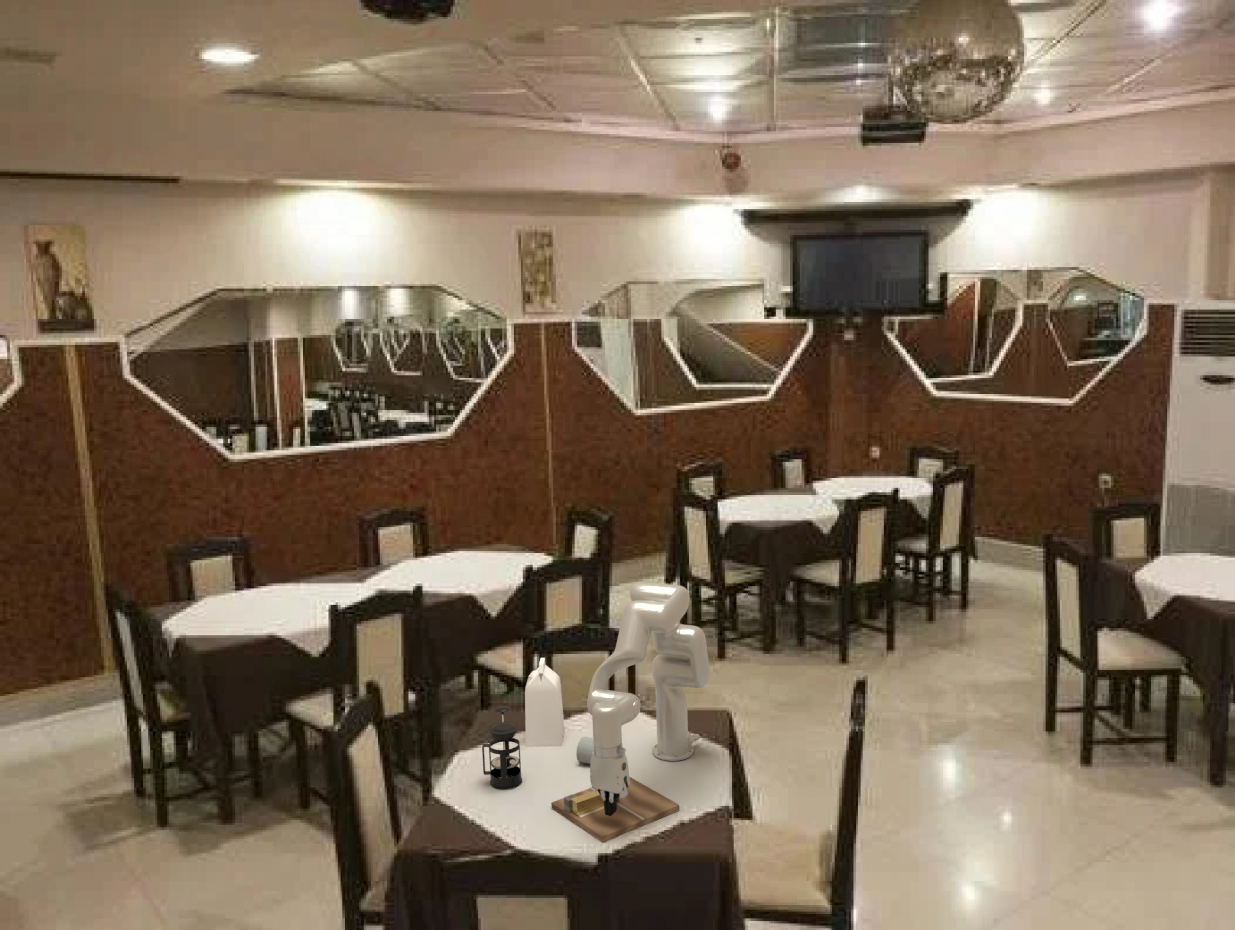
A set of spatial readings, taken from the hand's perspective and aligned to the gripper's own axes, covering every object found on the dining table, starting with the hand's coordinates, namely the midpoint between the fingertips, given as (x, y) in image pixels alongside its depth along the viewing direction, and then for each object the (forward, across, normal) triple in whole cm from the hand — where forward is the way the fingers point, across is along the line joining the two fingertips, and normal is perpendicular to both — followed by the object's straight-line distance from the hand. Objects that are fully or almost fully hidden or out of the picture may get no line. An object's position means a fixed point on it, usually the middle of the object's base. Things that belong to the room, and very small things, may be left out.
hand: (610, 813), depth 271 cm
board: (+3, +4, -8) cm, 9 cm away
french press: (+4, +41, -6) cm, 41 cm away
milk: (+4, +48, -36) cm, 61 cm away
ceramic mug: (+4, +25, -30) cm, 40 cm away
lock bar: (+1, +7, -4) cm, 9 cm away
